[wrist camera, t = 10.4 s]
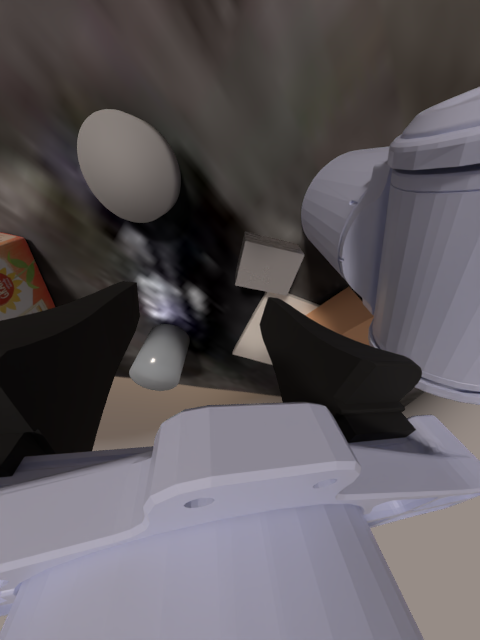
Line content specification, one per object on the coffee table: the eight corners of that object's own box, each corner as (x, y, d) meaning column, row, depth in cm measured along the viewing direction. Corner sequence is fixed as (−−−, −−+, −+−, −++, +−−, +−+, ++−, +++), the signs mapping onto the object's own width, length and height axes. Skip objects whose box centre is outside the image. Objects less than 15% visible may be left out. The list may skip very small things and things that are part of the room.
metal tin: (296, 243, 18) (304, 255, 16) (281, 280, 21) (286, 295, 18) (244, 230, 18) (245, 241, 15) (235, 271, 20) (235, 285, 18)
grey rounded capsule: (193, 330, 25) (183, 369, 20) (185, 355, 28) (174, 394, 23) (152, 318, 24) (130, 356, 19) (147, 346, 27) (128, 384, 22)
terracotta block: (293, 323, 23) (348, 286, 20) (316, 344, 26) (369, 313, 22) (304, 355, 19) (374, 315, 16) (329, 376, 22) (396, 345, 19)
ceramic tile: (350, 316, 23) (352, 319, 23) (299, 369, 30) (300, 372, 29) (268, 286, 21) (269, 288, 20) (232, 350, 27) (232, 354, 27)
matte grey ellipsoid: (188, 142, 14) (180, 139, 12) (174, 227, 18) (166, 235, 16) (96, 97, 13) (70, 85, 11) (101, 198, 16) (82, 203, 14)
